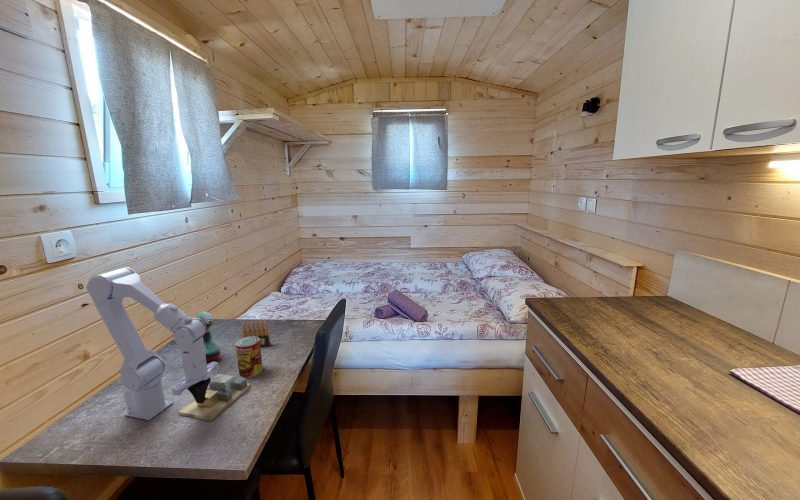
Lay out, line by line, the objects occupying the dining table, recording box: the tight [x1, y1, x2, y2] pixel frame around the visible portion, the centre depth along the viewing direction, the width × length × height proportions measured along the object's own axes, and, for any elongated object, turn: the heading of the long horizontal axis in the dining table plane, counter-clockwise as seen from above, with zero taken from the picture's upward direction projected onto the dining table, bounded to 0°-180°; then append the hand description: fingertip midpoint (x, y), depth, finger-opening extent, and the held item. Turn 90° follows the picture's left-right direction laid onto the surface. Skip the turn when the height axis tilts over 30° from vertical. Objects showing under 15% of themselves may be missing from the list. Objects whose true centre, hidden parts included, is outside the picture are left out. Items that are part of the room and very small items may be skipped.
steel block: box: [208, 373, 235, 392], centre depth 108 cm, size 4×6×5 cm, turn 76°
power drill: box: [196, 310, 221, 364], centre depth 128 cm, size 7×16×20 cm, turn 41°
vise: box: [177, 376, 252, 422], centre depth 106 cm, size 12×17×4 cm
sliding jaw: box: [197, 386, 232, 408], centre depth 104 cm, size 11×6×3 cm, turn 76°
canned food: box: [235, 336, 263, 379], centre depth 121 cm, size 8×8×12 cm
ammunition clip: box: [241, 319, 272, 348], centre depth 139 cm, size 11×2×12 cm, turn 98°
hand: (200, 402), depth 100 cm, fingers closed
